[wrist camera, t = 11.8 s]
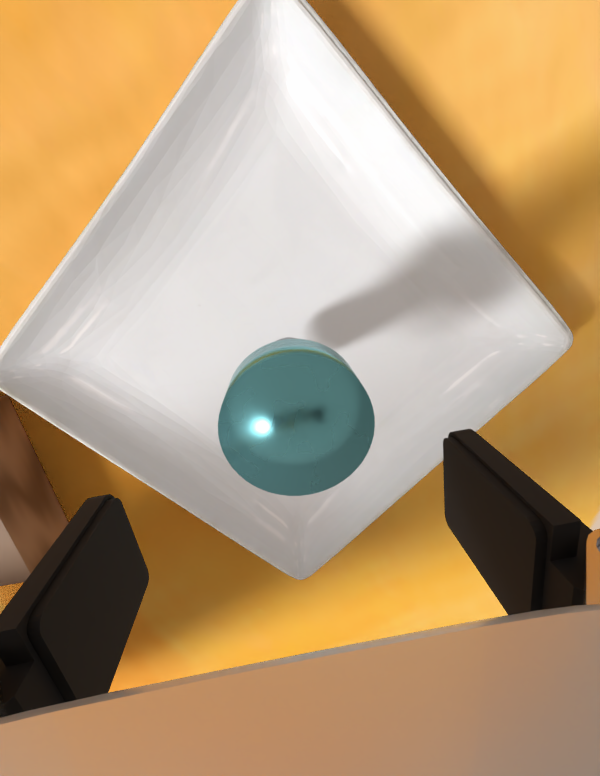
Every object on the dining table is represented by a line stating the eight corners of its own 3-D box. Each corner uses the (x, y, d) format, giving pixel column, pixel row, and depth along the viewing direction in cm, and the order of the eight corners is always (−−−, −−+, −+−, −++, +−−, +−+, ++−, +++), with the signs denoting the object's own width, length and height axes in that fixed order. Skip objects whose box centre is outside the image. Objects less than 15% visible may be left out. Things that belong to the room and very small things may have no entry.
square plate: (546, 329, 27) (587, 341, 24) (298, 552, 33) (301, 589, 30) (270, -4, 20) (269, -62, 16) (12, 362, 26) (-30, 380, 22)
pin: (342, 396, 24) (380, 482, 15) (251, 412, 24) (236, 506, 15) (330, 304, 22) (367, 341, 13) (230, 321, 22) (200, 369, 13)
